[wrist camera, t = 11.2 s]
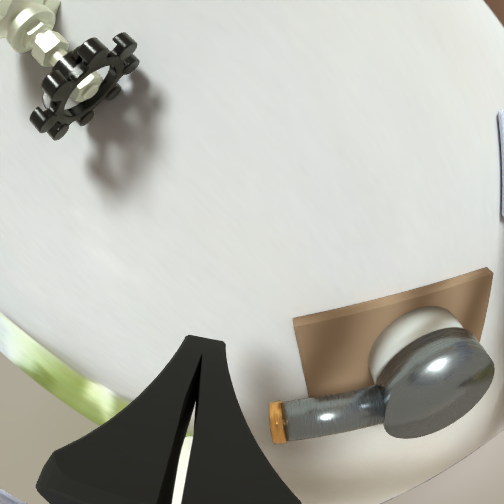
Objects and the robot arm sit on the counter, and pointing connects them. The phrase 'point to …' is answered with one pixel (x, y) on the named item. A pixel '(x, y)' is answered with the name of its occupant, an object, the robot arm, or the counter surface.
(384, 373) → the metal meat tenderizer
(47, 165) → the counter surface
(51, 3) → the valve
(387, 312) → the thin wooden panel
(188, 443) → the pepper shaker
